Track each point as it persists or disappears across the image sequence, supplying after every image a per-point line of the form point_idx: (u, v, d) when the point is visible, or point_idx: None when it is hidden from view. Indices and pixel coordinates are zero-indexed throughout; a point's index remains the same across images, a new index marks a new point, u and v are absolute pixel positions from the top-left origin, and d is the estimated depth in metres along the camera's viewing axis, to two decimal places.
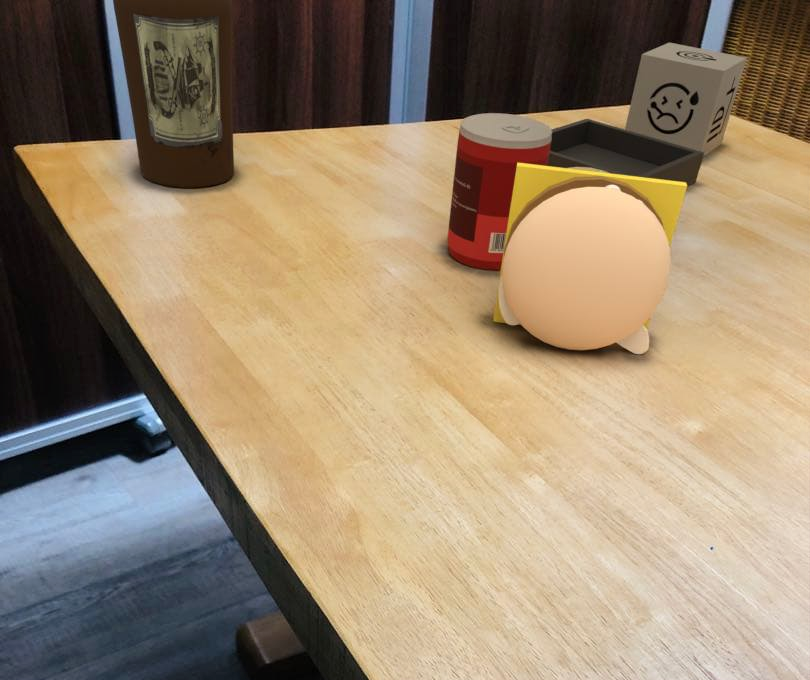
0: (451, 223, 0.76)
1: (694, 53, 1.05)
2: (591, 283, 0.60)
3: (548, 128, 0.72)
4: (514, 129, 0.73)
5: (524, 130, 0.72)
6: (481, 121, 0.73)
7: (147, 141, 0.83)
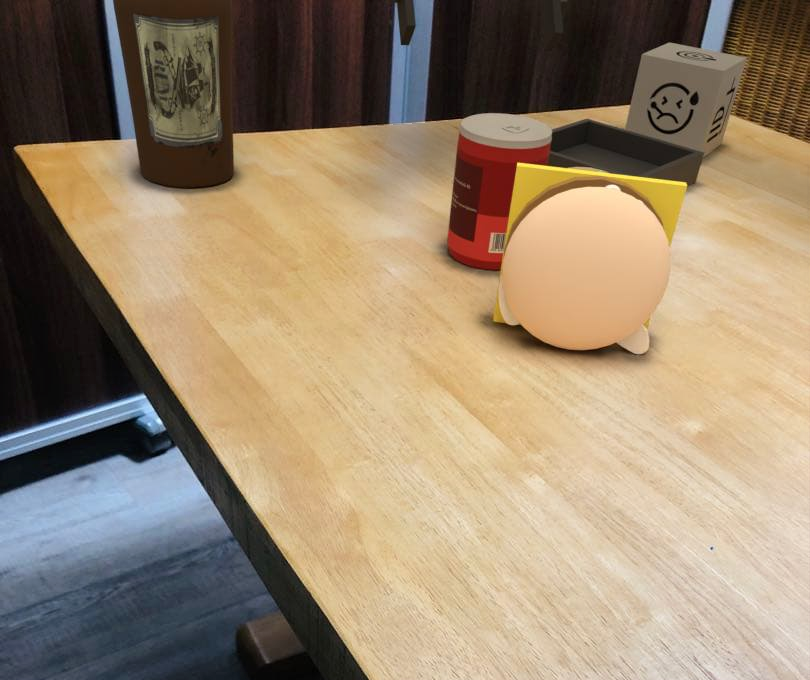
0: (451, 223, 0.76)
1: (694, 53, 1.05)
2: (591, 283, 0.60)
3: (548, 128, 0.72)
4: (514, 129, 0.73)
5: (524, 130, 0.72)
6: (481, 121, 0.73)
7: (147, 141, 0.83)
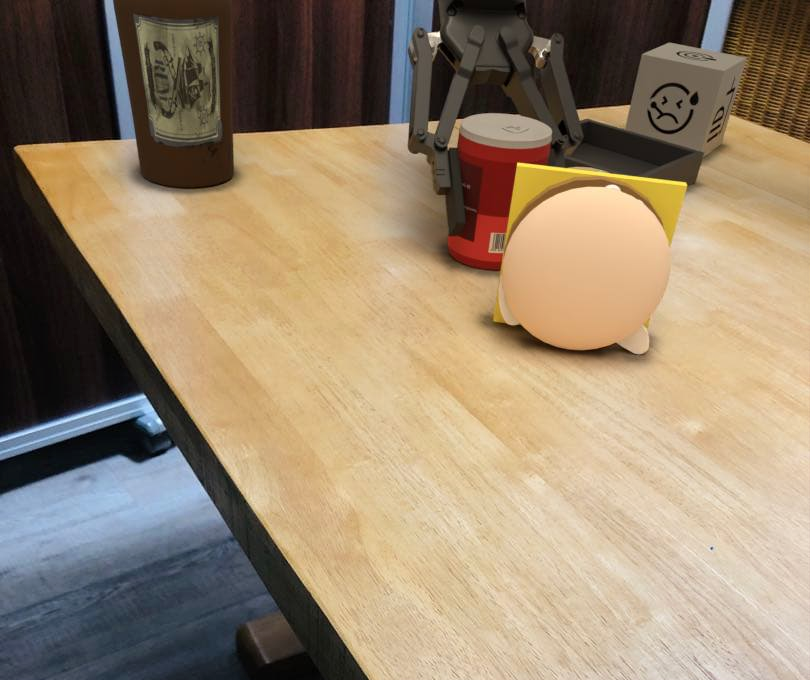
0: None
1: (694, 53, 1.05)
2: (591, 283, 0.60)
3: (548, 128, 0.72)
4: (514, 129, 0.73)
5: (524, 130, 0.72)
6: (481, 121, 0.73)
7: (147, 141, 0.83)
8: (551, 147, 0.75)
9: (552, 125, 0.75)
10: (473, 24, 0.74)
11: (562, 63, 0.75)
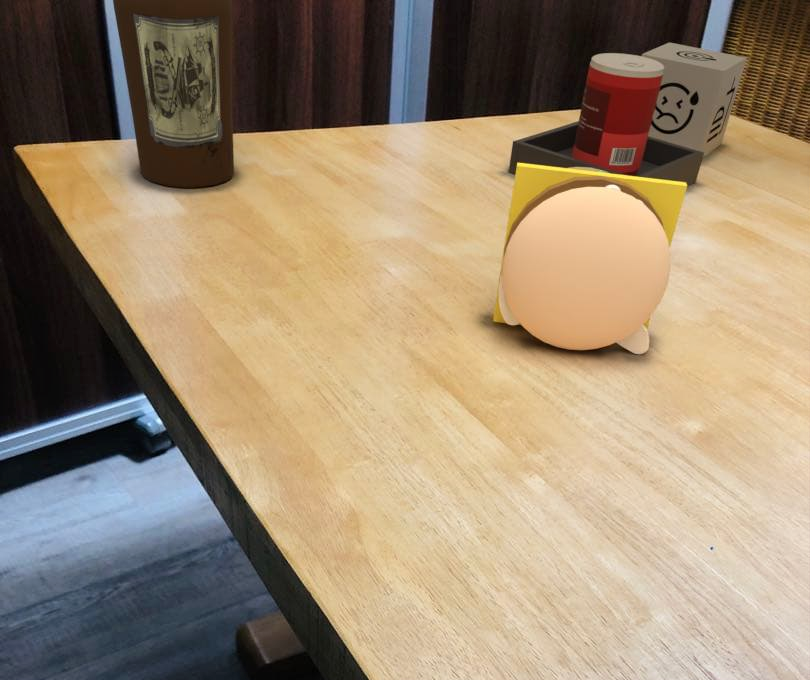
0: (578, 142, 0.95)
1: (694, 53, 1.05)
2: (591, 283, 0.60)
3: (660, 63, 0.91)
4: (633, 64, 0.91)
5: (641, 65, 0.91)
6: (605, 59, 0.92)
7: (147, 141, 0.83)
8: None
9: None
10: None
11: None
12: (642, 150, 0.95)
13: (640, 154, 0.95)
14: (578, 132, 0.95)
